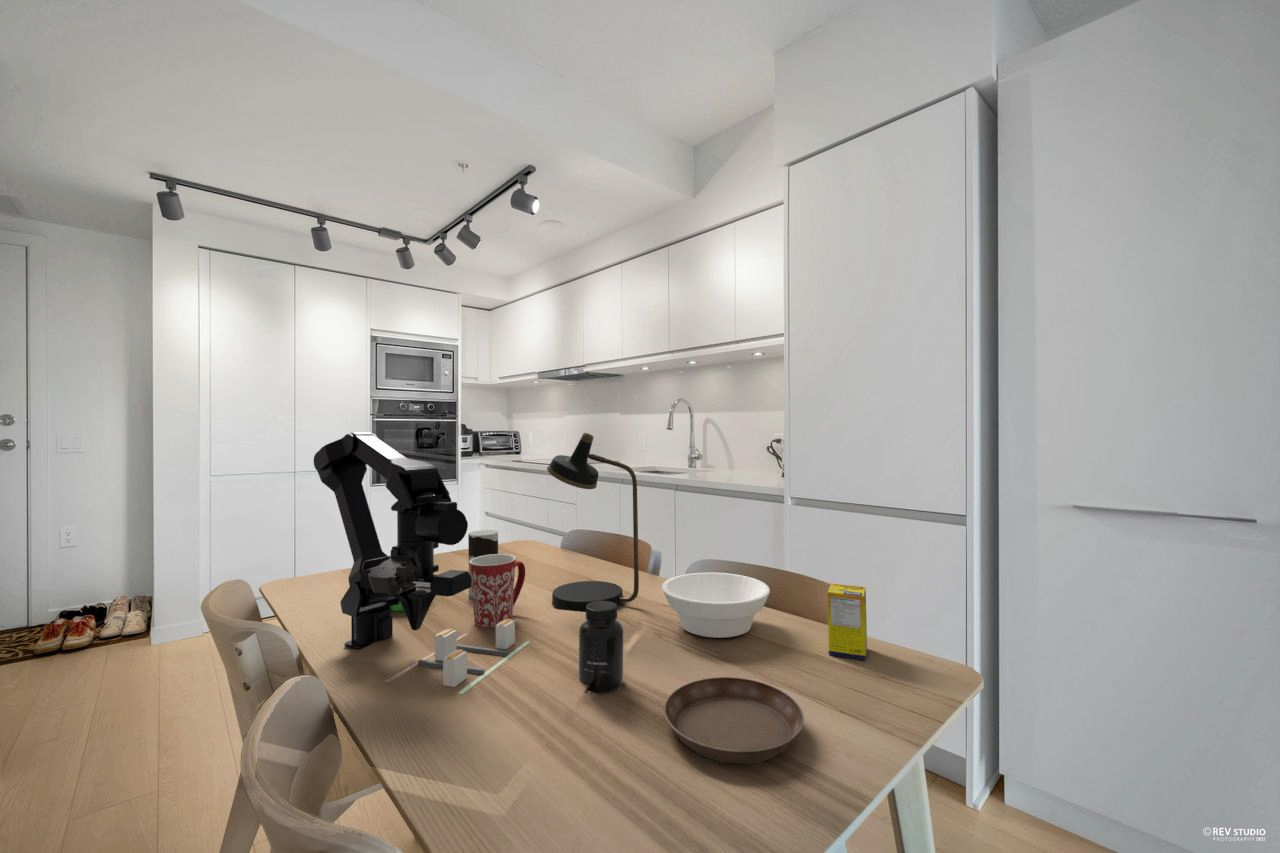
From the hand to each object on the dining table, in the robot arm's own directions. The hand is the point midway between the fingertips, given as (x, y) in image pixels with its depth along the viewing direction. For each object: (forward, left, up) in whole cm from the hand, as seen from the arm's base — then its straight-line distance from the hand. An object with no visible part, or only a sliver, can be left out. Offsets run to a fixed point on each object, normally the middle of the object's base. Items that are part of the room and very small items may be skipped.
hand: (416, 629), depth 91 cm
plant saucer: (+55, -6, -6) cm, 55 cm away
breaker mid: (+6, 0, -4) cm, 7 cm away
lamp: (+18, +37, -5) cm, 41 cm away
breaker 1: (+13, -7, -4) cm, 15 cm away
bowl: (+47, +29, -6) cm, 55 cm away
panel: (+10, 0, -5) cm, 11 cm away
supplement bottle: (+34, +1, -5) cm, 34 cm away
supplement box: (+71, +24, -5) cm, 75 cm away
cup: (-9, +34, -5) cm, 36 cm away
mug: (+5, +19, -5) cm, 20 cm away
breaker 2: (+13, +7, -4) cm, 15 cm away
